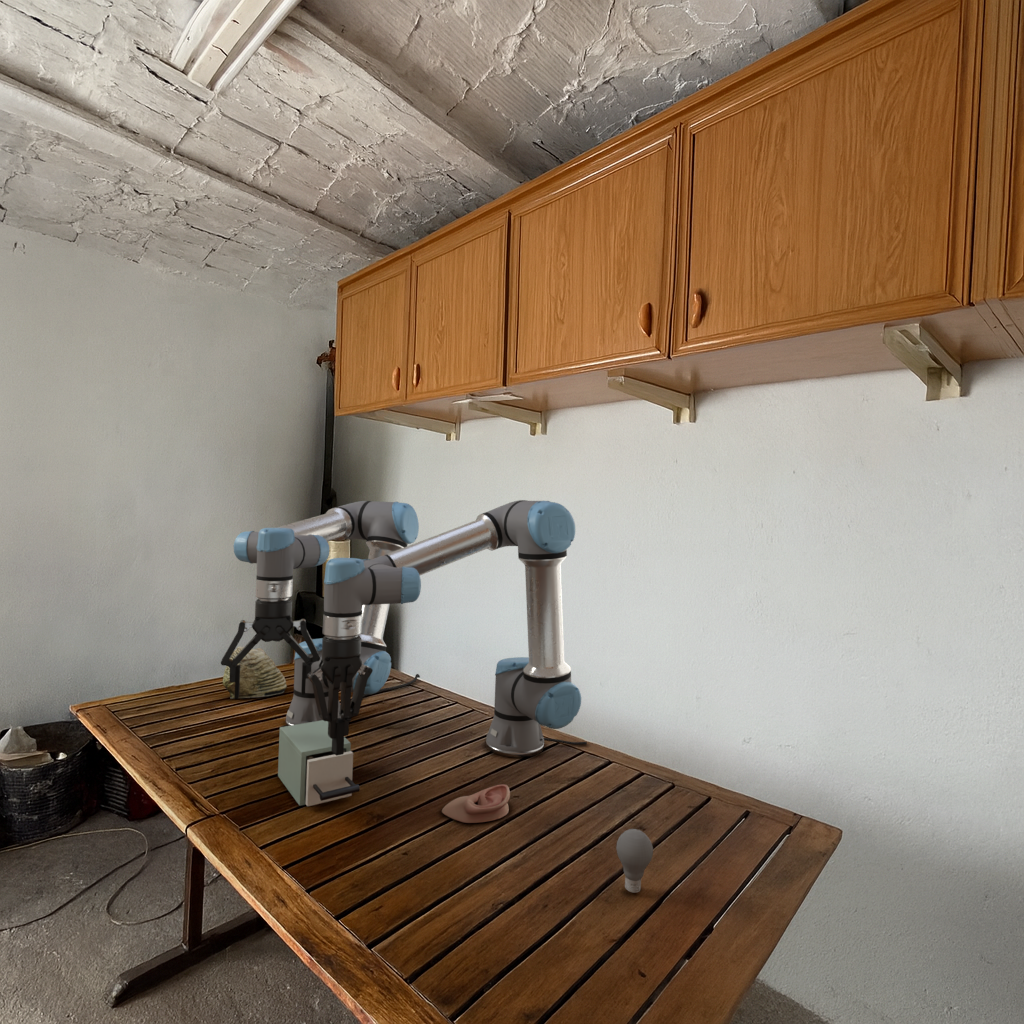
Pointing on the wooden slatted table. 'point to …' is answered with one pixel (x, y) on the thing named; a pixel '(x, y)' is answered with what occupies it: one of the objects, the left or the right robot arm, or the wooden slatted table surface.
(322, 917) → the wooden slatted table surface
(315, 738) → the cabinet
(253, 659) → the fossil
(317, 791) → the drawer
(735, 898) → the wooden slatted table surface
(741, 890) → the wooden slatted table surface
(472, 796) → the anatomical model
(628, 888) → the light bulb
